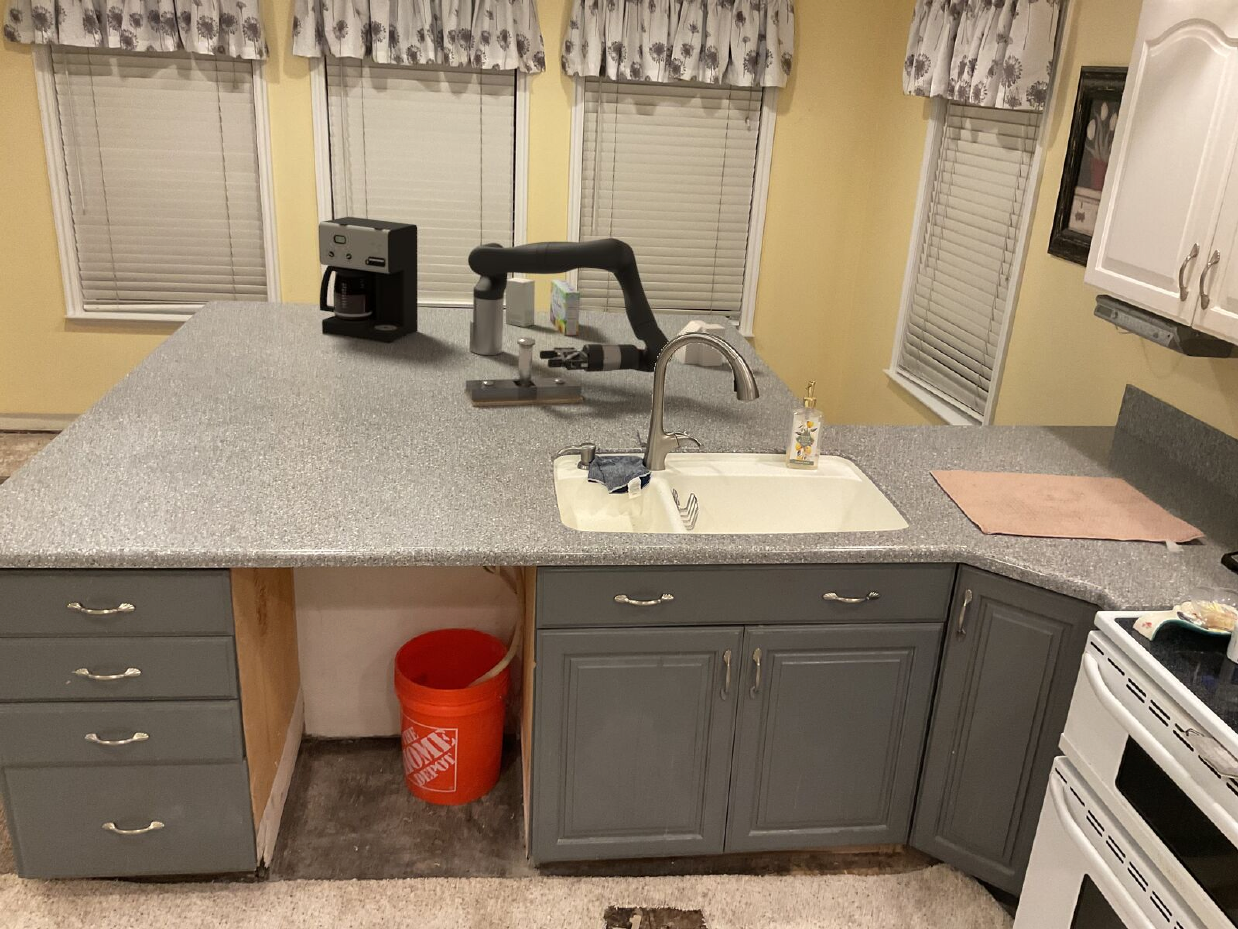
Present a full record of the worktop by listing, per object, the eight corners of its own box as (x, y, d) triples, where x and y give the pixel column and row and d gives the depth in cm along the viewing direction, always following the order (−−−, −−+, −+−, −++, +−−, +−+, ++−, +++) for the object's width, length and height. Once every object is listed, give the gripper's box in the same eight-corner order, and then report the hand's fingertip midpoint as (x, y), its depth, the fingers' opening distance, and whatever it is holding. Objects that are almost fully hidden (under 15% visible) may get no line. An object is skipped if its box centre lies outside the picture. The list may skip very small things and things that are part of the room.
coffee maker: (309, 331, 323) (305, 220, 310) (342, 319, 340) (339, 213, 328) (388, 343, 316) (387, 230, 303) (418, 331, 333) (417, 223, 321)
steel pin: (512, 394, 273) (514, 340, 267) (519, 389, 277) (522, 336, 272) (528, 397, 271) (530, 342, 266) (535, 392, 276) (538, 339, 270)
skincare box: (534, 324, 353) (536, 280, 347) (523, 327, 348) (524, 282, 342) (515, 320, 357) (517, 276, 351) (503, 323, 352) (505, 278, 346)
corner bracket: (721, 365, 320) (725, 328, 316) (688, 366, 316) (692, 329, 311) (706, 356, 329) (710, 320, 325) (674, 357, 325) (678, 320, 321)
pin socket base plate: (473, 406, 264) (473, 389, 263) (464, 392, 275) (464, 376, 273) (582, 402, 274) (583, 385, 272) (570, 388, 285) (571, 373, 283)
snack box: (548, 321, 360) (550, 278, 354) (563, 321, 361) (565, 279, 356) (563, 336, 341) (565, 291, 336) (579, 336, 343) (581, 291, 337)
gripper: (594, 337, 282) (537, 338, 277) (610, 351, 270) (551, 352, 265) (592, 363, 285) (536, 365, 280) (608, 378, 273) (550, 380, 267)
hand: (544, 359), depth 272 cm, fingers open, 8 cm apart
